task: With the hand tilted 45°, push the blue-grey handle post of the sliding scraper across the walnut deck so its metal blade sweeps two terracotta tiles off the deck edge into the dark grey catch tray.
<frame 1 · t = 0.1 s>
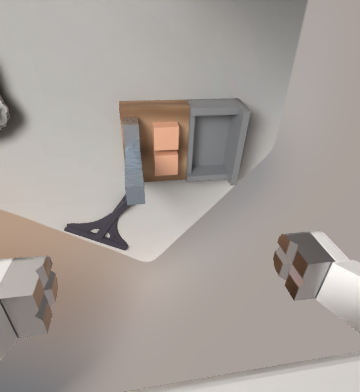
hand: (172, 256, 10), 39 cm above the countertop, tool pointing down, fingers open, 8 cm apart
tile a: (164, 133, 46), point 3 cm above the countertop, touching deck
bracket: (112, 215, 60), on the countertop
tile b: (164, 159, 49), point 3 cm above the countertop, touching deck
deck: (154, 139, 49), on the countertop
tray: (208, 137, 51), on the countertop
scraper: (133, 169, 41), point 10 cm above the countertop, slide at 0.0 cm
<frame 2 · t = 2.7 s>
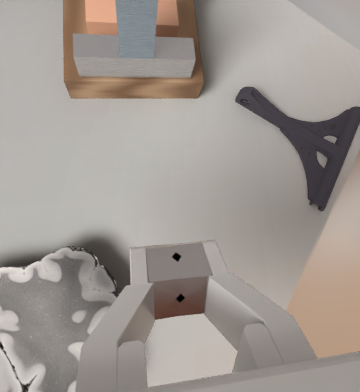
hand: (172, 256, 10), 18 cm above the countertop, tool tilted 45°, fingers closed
tile a: (108, 22, 29), point 3 cm above the countertop, touching deck
bracket: (286, 131, 34), on the countertop
tile b: (156, 24, 30), point 3 cm above the countertop, touching deck
deck: (133, 55, 32), on the countertop
brain slice: (29, 356, 24), on the countertop
scraper: (135, 13, 22), point 10 cm above the countertop, slide at 0.0 cm
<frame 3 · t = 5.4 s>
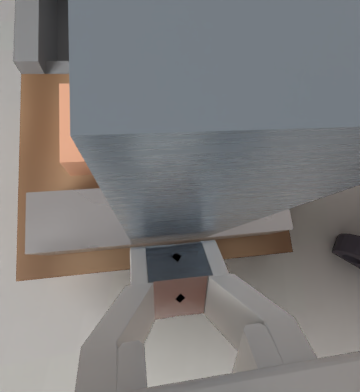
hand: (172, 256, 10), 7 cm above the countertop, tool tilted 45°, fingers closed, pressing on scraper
tile a: (108, 138, 15), point 3 cm above the countertop, touching deck
deck: (153, 178, 18), on the countertop
tray: (143, 46, 20), on the countertop
scraper: (178, 191, 8), point 10 cm above the countertop, slide at 0.8 cm, touching gripper
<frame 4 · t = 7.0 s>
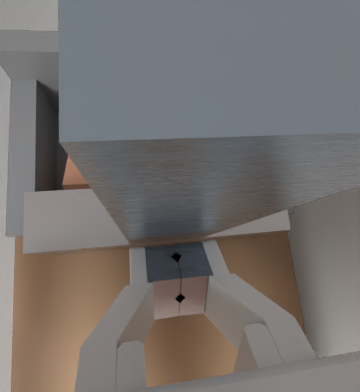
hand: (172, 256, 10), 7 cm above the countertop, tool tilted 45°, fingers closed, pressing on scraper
tile a: (111, 184, 16), point 2 cm above the countertop, tilted 32°, touching scraper, tray
deck: (164, 325, 16), on the countertop
tray: (151, 163, 18), on the countertop
scraper: (175, 191, 8), point 10 cm above the countertop, slide at 9.7 cm, touching gripper, tile a, tile b
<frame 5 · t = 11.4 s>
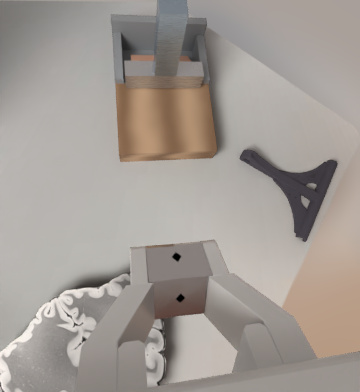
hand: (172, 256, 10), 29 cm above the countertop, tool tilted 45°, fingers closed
tile a: (144, 73, 43), point 2 cm above the countertop, tilted 31°, touching scraper, tray
bracket: (278, 179, 45), on the countertop
tile b: (176, 73, 44), point 2 cm above the countertop, tilted 35°, touching scraper, tray
deck: (164, 126, 43), on the countertop
brain slice: (99, 348, 35), on the countertop
tray: (159, 70, 45), on the countertop
scraper: (167, 49, 35), point 10 cm above the countertop, slide at 9.8 cm, touching tile a, tile b
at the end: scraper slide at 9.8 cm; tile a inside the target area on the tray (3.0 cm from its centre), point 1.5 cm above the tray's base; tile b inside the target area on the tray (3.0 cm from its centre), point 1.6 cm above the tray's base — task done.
